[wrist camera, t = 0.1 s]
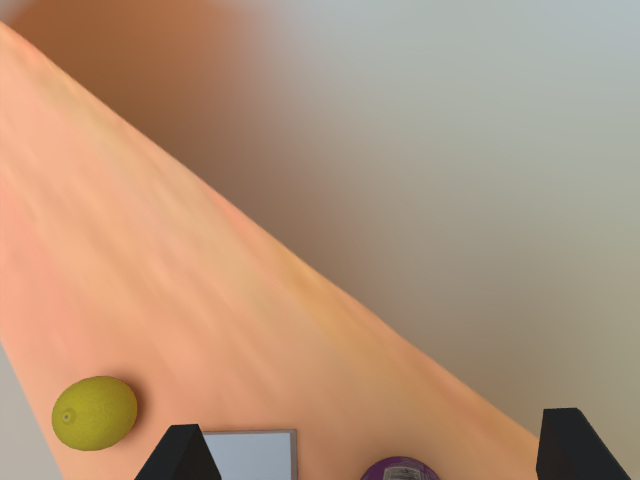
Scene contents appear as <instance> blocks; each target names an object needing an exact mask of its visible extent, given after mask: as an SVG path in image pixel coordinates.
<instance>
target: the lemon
mask: <svg viewBox="0 0 640 480" xmlns="http://www.w3.org/2000/svg"><path fill="white" fill-rule="evenodd" d="M137 409H138V407H137V400H136V397H135V395H134V393H133V391H132V390H131V389H130V387H129V386H128V385H126V384H125V383H124V382H122V381H120V380H118V379H115V378H112V377H105V376H96V377H91V378H86V379H83V380H81V381H79V382H77V383H75V384H73V385H71V386H70V387H68V388H67V389H66V390H65V391H64V392H63V393H62V394H61V395H60V397H59V398H58V399H57V401H56V403H55V406H54V408H53V412H52V426H53V430H54V432H55V434H56V436H57V437H58V438H59V439H60V441H61V442H62V443H64V444H65V445H67V446H69V447H70V448H73V449H77V450H81V451H97V450H102V449H105V448H108V447H111V446H113V445H114V444H116V443H117V442H119V441H120V440H122V439H123V438H124V437H125V436H126V435H127V434H128V433H129V432H130V430H131V428H132V427H133V425H134V423H135V420H136V417H137Z"/></svg>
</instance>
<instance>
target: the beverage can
mask: <svg viewBox="0 0 640 480" xmlns="http://www.w3.org/2000/svg"><path fill="white" fill-rule="evenodd" d="M361 480H440V479H439V477H438V476H437V475H436V474H435V473H434V472H433V471H432V470H431V469H430V468H429V467H427V466H426V465H425V464H423V463H421V462H419V461H417V460H414V459H411V458H407V457H391V458H387V459H384V460H381V461H379V462H377V463H376V464H374V465H373V466H372V467H370V468H369V469H368V470H367V471H366V472H365V474H364V475H363V477H362V478H361Z"/></svg>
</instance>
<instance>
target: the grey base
mask: <svg viewBox="0 0 640 480" xmlns="http://www.w3.org/2000/svg"><path fill="white" fill-rule="evenodd" d="M202 434H203V437H204V439H205V441H206V443H207V445H208V448H209V450H210V452H211V454H212V457H213V459H214V461H215V463H216V466H217V468H218V470H219V472H220V475H221V477H222V480H297V441H296V430H259V431H220V432H202Z"/></svg>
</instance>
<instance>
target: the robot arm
mask: <svg viewBox="0 0 640 480" xmlns="http://www.w3.org/2000/svg"><path fill="white" fill-rule="evenodd" d="M536 472H537V476H538V480H631V479H630V477H629V476H628V475H627V474H626V472H625V471H624V470H623V468H622V467H621V466H620V465H619V463H618V462H617V460H616V459H615V458H614V457H613V455H612V454H611V453H610V451H609V450H608V448H607V447H606V446H605V444H604V443H603V442H602V440H601V439H600V438H599V436H598V435H597V433H596V432H595V431H594V429H593V428H592V426H591V425H590V423H589V422H588V421H587V419H586V418H585V416H584V415H583V413H582V412H581V411H580V410H579V409H577V408H557V409H544V411H543V419H542V427H541V434H540V442H539V449H538V457H537V464H536ZM134 480H222V477H221V475H220V472H219V470H218V468H217V466H216V463H215V461H214V459H213V457H212V454H211V452H210V450H209V448H208V445H207V443H206V441H205V439H204V437H203V434H202V432H201V430H200V428H199V425H198V424H186V425H171V426H170V427H169V428H168V430H167V431H166V433H165V434H164V436H163V437H162V439H161V440H160V442H159V443H158V445H157V446H156V448H155V449H154V451H153V452H152V454H151V455H150V457H149V458H148V460H147V461H146V463H145V464H144V466H143V467H142V469H141V470H140V472H139V473H138V475H137V476H136V478H135V479H134Z"/></svg>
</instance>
